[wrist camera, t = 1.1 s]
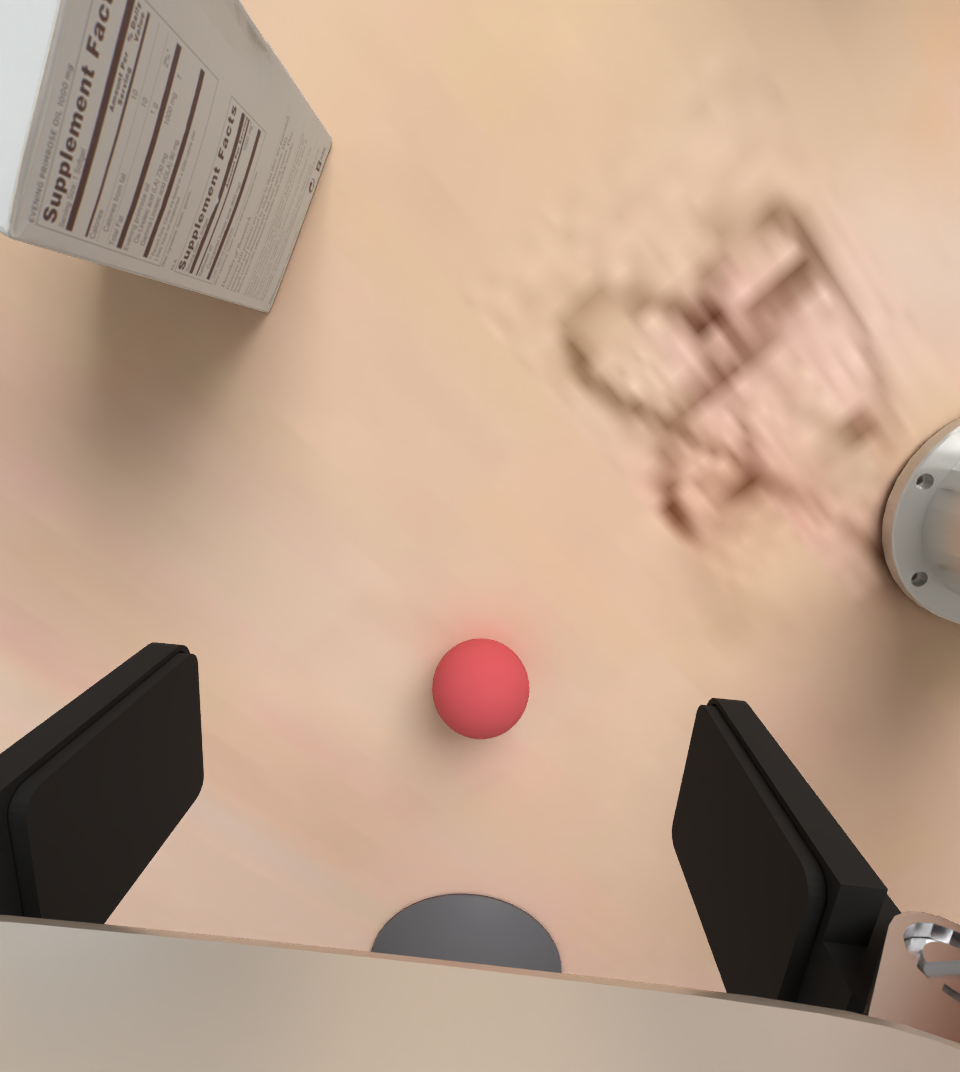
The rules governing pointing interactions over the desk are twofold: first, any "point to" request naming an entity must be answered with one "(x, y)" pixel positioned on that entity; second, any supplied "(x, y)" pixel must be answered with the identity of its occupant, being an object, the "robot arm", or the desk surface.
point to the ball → (480, 688)
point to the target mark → (470, 933)
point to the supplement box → (155, 142)
